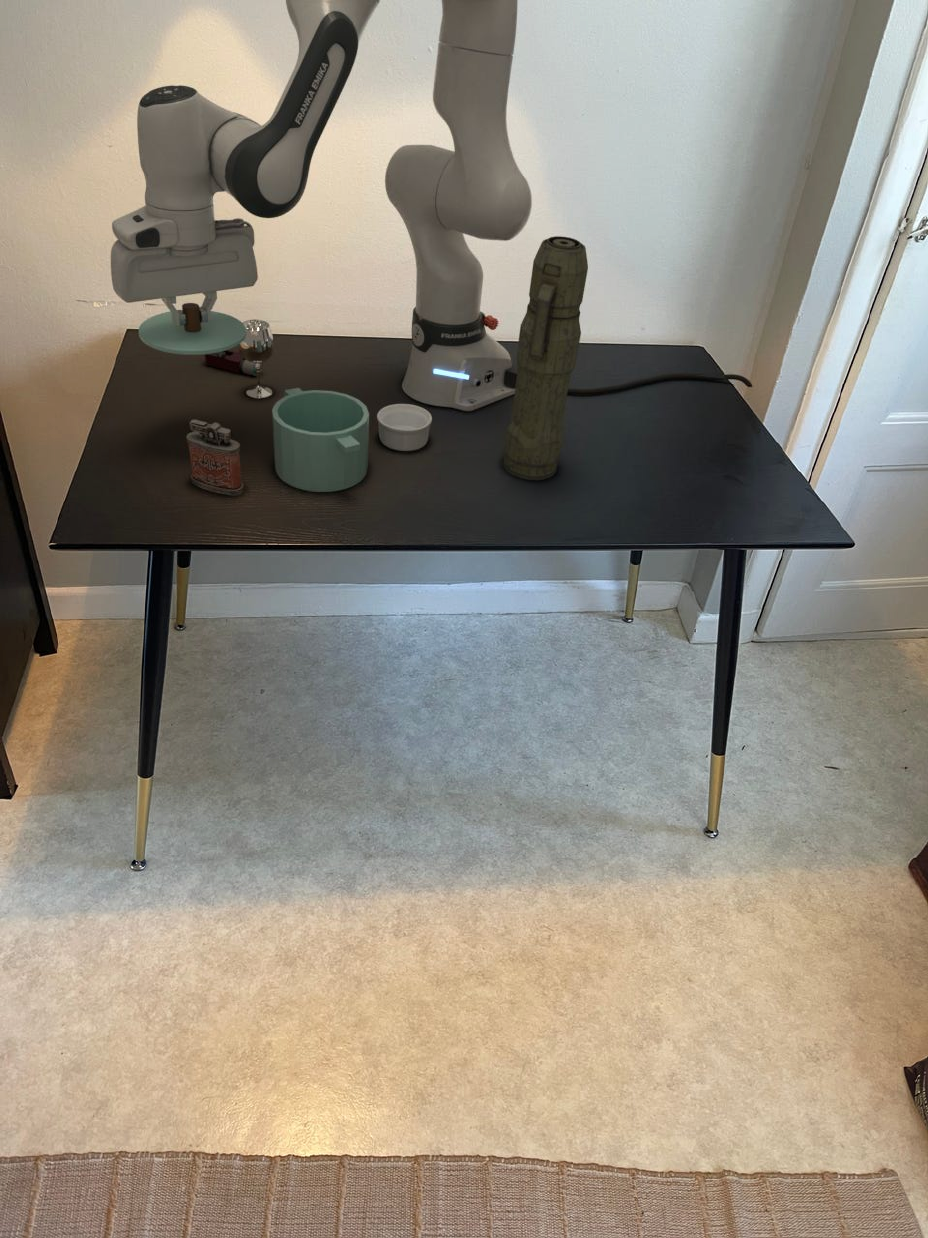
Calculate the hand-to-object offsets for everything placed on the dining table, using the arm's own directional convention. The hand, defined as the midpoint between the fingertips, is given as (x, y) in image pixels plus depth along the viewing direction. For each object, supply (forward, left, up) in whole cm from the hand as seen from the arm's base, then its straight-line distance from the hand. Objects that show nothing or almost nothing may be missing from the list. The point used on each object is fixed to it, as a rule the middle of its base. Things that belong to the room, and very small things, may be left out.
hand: (191, 322), depth 132 cm
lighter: (+4, +15, -19) cm, 24 cm away
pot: (-12, +17, -18) cm, 28 cm away
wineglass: (-14, -10, -19) cm, 25 cm away
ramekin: (-28, +15, -19) cm, 37 cm away
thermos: (-42, +31, -19) cm, 55 cm away
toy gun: (-16, -22, -19) cm, 33 cm away
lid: (0, 0, -2) cm, 2 cm away
